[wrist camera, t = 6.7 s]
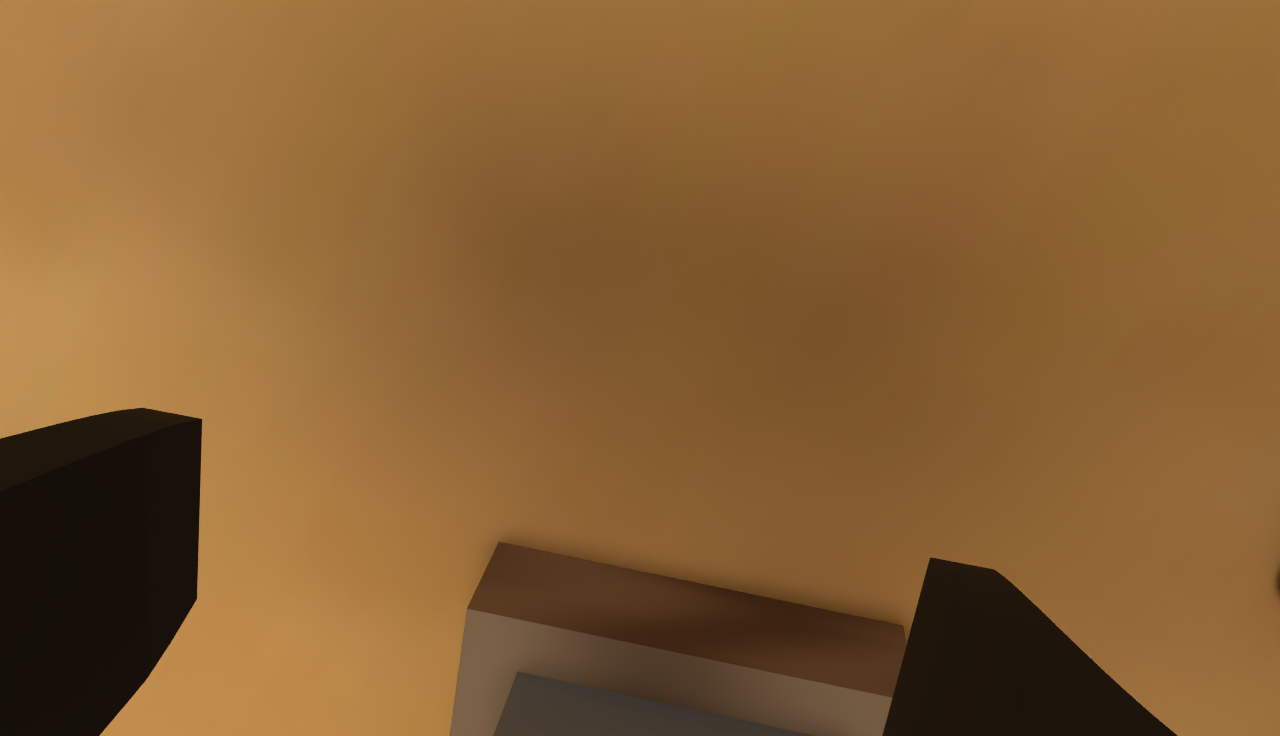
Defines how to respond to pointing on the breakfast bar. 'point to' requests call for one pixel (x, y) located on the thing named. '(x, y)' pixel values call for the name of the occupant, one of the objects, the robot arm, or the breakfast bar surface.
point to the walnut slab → (670, 647)
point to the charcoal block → (608, 714)
